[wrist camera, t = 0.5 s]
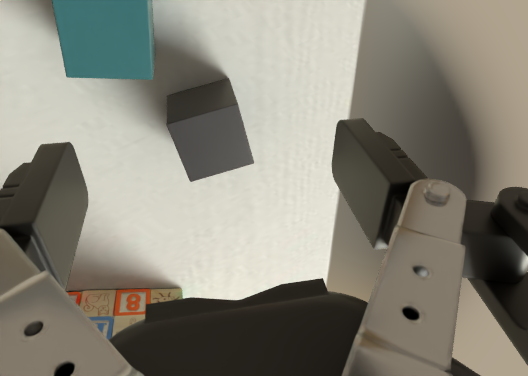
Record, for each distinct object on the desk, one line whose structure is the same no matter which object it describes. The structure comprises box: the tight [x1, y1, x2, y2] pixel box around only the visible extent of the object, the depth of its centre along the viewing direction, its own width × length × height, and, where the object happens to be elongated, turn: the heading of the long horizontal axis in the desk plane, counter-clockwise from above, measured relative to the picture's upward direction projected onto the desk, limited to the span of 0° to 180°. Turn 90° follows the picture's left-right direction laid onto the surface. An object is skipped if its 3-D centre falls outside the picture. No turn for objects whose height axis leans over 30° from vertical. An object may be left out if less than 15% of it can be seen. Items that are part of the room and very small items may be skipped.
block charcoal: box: [167, 78, 254, 182], centre depth 27 cm, size 4×4×4 cm
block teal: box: [52, 0, 155, 80], centre depth 22 cm, size 4×4×4 cm
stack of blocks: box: [67, 288, 183, 340], centre depth 33 cm, size 21×6×12 cm, turn 79°
